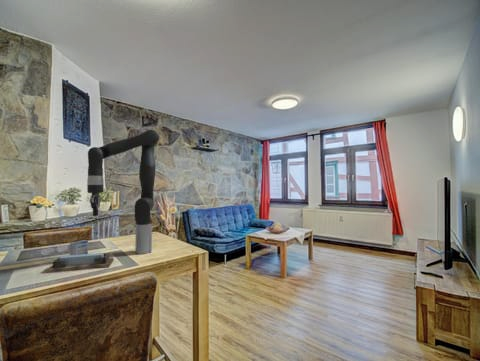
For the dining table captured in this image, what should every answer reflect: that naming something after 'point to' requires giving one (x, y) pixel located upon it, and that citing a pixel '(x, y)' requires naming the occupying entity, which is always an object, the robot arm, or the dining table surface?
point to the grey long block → (81, 259)
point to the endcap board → (98, 263)
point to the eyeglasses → (50, 250)
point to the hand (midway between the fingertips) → (95, 215)
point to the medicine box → (79, 247)
